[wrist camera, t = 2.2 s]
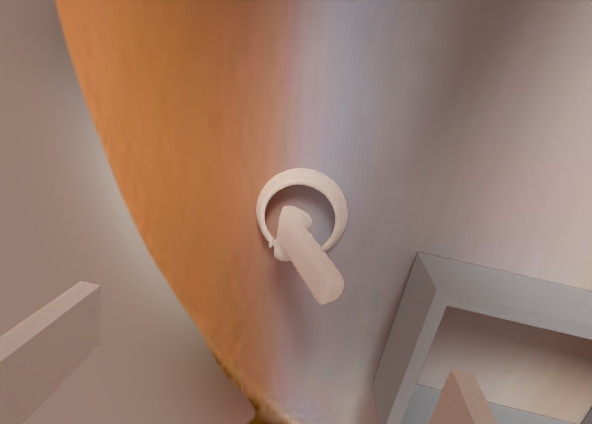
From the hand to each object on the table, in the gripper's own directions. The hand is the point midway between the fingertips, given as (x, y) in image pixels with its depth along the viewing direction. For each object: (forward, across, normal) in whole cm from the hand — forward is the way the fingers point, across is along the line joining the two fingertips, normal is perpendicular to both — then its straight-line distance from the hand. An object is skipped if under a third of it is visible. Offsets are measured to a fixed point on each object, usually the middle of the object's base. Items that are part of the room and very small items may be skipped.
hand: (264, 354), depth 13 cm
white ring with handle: (+17, 0, 0) cm, 17 cm away
